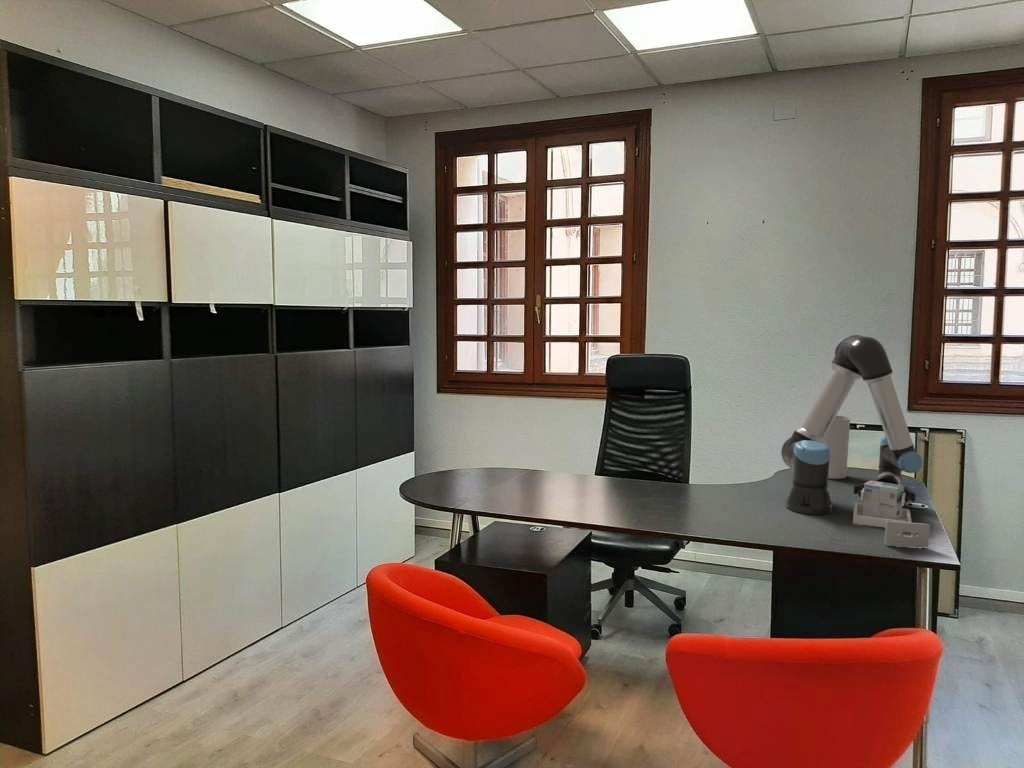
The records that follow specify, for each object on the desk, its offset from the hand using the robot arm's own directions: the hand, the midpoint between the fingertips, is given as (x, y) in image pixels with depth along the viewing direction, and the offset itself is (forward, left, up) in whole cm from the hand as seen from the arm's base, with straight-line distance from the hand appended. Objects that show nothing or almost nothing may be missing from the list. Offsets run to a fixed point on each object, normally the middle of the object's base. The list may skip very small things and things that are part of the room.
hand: (882, 498), depth 245 cm
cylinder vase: (+28, +62, -9) cm, 68 cm away
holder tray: (+3, +3, -8) cm, 9 cm away
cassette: (-9, -21, -9) cm, 25 cm away
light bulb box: (+3, +3, -7) cm, 8 cm away
